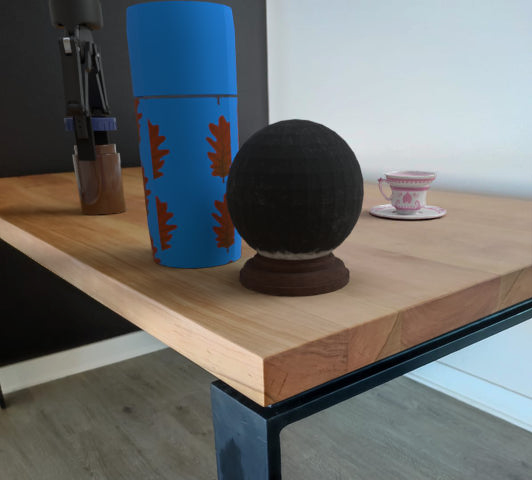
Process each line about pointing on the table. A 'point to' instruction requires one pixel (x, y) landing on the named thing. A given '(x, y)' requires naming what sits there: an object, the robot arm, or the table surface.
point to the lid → (94, 124)
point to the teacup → (408, 196)
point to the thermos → (186, 127)
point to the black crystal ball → (294, 207)
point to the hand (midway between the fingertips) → (95, 158)
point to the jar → (100, 181)
